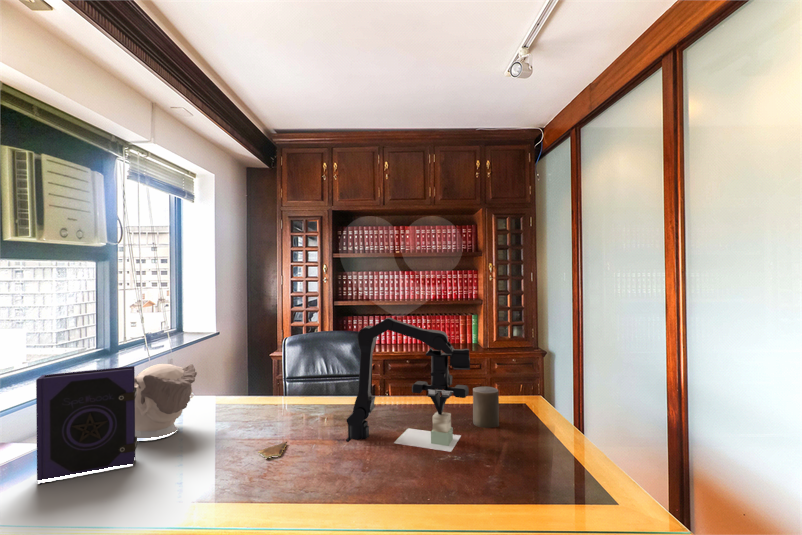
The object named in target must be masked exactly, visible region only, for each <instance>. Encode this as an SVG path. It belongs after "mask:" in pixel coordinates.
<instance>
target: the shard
mask: <svg viewBox="0 0 802 535" xmlns="http://www.w3.org/2000/svg"><path fill="white" fill-rule="evenodd" d="M287 444H288V441H284V442H282V443H278V444H275V445H272V446H269V447H266V448H263V449H260V450H259V451H257V454H258V453H260V454H262V455H263V456H264V457H265V458H269V457H272V456H281V457H282V454H283V452H284V451H285V449H286V448H287ZM285 447H286V448H285ZM283 450H284V451H283Z"/></svg>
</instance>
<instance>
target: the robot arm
mask: <svg viewBox="0 0 802 535" xmlns="http://www.w3.org/2000/svg"><path fill="white" fill-rule="evenodd" d="M387 331H390V332H394V333H395V334H396V333H397V334H400V335H402V336H406V337H409V338H412V339H414V340H418V341H420V342H422V343H424V344H425V345H427V346H428V347H430V348H429V349H428V351H426V353H425V356H427V357H431V363H430V364H431V366H430V367H431V368H430V369H431V370H430V371H431V372H430V377H431V384H428V381H424V380H423V381H421V380H417V381H416V382H415V383H413V384H412V385H411V392H412V394H421V393H423V391H428V394H427V397H428V398H430V399H431V401H432V403H433V405H434V406H435V408H436V412H438V414H439V415H441V414H442V412H444V408H445V404H446V402H447V400H448V399H450V398H451V396H452V395H453V396H454V398H460V399H465V398H466V397H467V396H468V395H469V393H470V392H469V391H470V390H469V386H468V385H466V384H465V385H464V384H456V385H455V386H454V387H453V386H452V385H453V375H452V374H450V371H449V366H450V367H451V368H452V369H453V370H471V357H470V348H461V349H460V348H458V349H457V348H456V349H455V348H454V346H453V345H452V343H450V340H449V336H448V334H447V333H446V332H445V331H443V330H437V329H425V328H422V327H418V326H415V325H413V324H411V323H410V324H409V323H406V322H403V321H400V320H397V319H394V318H392V317H386V318H385V319H383V320H382V321H380V322H379V323H376V324H375V325H366V326H364V327H363V328H361V329H360V330H358V332H357V343H358V344H357V345H358V348H359V352H360V358H359V373H358V389H357V390H358V391H357V395H356V398H355V402H354V405H353V408H352V412H351V414H350V415H349V416H348V417H347V418H346V423H347V438H346V439H345V441H346V442H350V441H351V440H356V441H359V440H367V439H369V437H370V426H369V425H368V422H369V421H368V420H367V419H368V418H369V416H370V414H371V413H372V412H373V410H374V409H375V407H376V405H375V400H376V395H372V393H371V386H372V368H373V367H372V366H373V353H374V349H375V346H376V343H377V339H378V336H379V335H381V334H383V333H386V332H387Z"/></svg>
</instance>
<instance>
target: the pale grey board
mask: <svg viewBox="0 0 802 535" xmlns="http://www.w3.org/2000/svg"><path fill="white" fill-rule="evenodd" d="M431 431H432V430H431ZM431 431H430V430H422V429H416V428H409V427H408V428H406V430H405V431H404V432H402V434H401V435H400V436H399V437H398V438H397V439H396V440H395V441H394V442H393V444H397V445H403V446H411V447H417V448H423V449H431V450H436V451H445V452H449V453H450V452H451V453H452V451H453V449H454V448H455V446H456V445H457V443H458V442H459V441H460V439H461V437H462V435H460V434H454V433H453V440H452V441H451V443H450V444H449V446H446V445H439V444H432V443H431Z"/></svg>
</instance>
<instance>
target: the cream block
mask: <svg viewBox="0 0 802 535" xmlns="http://www.w3.org/2000/svg"><path fill="white" fill-rule="evenodd" d="M451 427H452V413H451V412H444V411H443V412H442V414H441V415H439V414H438V412H437V411H436V412H434V414H433V415H432V430H433V431H436V432H443V433H447V432H448V431H449V430H450V429H451Z"/></svg>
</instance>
